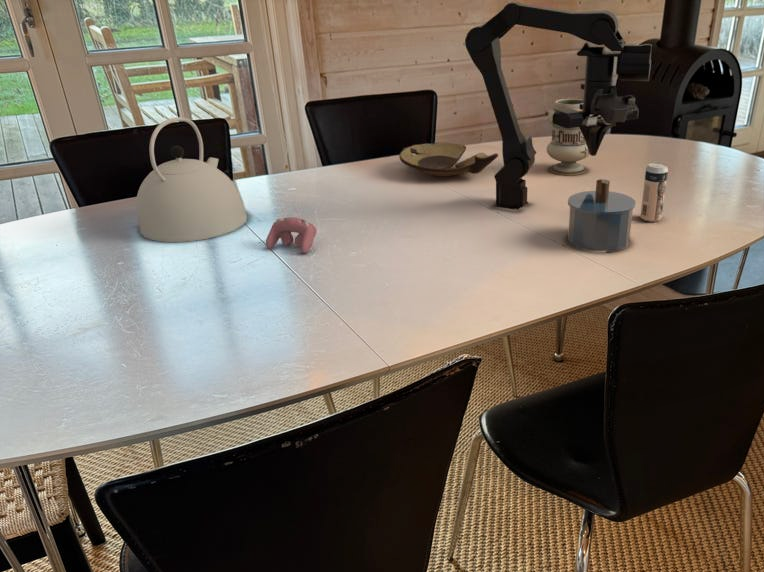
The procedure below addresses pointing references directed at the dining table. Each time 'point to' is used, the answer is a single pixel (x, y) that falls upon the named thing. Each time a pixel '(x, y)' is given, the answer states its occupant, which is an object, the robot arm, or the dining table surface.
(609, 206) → the lid
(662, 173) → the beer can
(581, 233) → the pot
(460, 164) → the oil lamp
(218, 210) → the kettle
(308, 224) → the video game controller
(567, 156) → the apothecary jar
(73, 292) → the dining table surface
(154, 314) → the dining table surface
